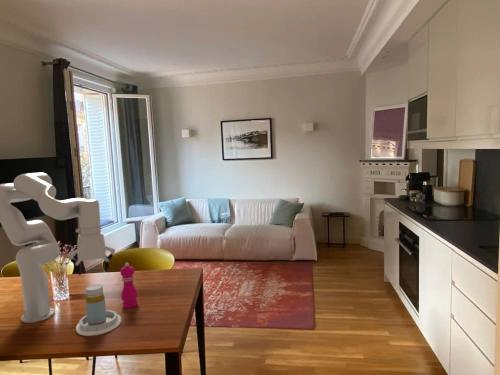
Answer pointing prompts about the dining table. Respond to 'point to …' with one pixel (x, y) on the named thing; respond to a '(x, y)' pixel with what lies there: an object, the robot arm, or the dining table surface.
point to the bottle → (95, 305)
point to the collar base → (92, 330)
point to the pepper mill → (128, 287)
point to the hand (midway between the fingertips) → (93, 272)
